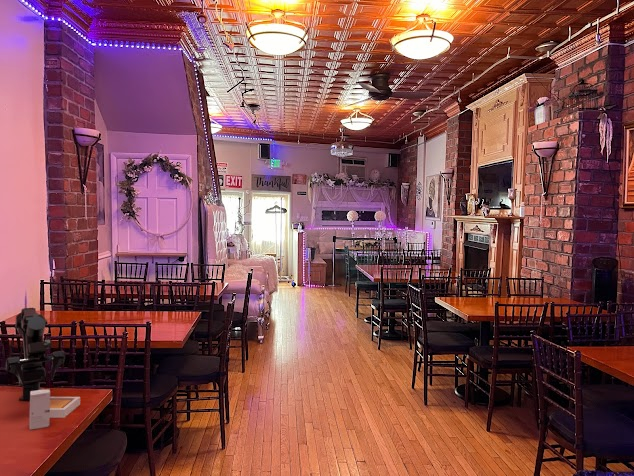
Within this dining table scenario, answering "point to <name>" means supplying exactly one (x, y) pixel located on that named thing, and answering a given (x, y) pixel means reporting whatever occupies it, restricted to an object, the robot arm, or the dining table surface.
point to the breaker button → (59, 403)
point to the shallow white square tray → (67, 409)
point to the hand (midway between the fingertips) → (37, 381)
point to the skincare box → (39, 409)
